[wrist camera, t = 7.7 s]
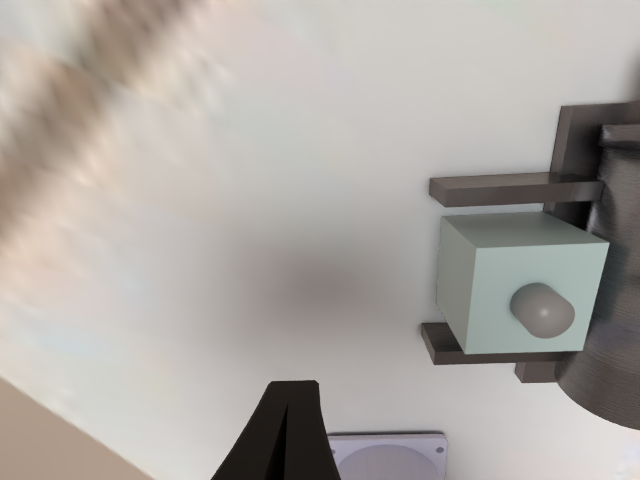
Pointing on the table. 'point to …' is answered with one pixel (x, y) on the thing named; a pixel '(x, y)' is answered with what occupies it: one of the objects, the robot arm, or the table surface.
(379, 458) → the robot arm
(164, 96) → the table surface
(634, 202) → the grey electric motor
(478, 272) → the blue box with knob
